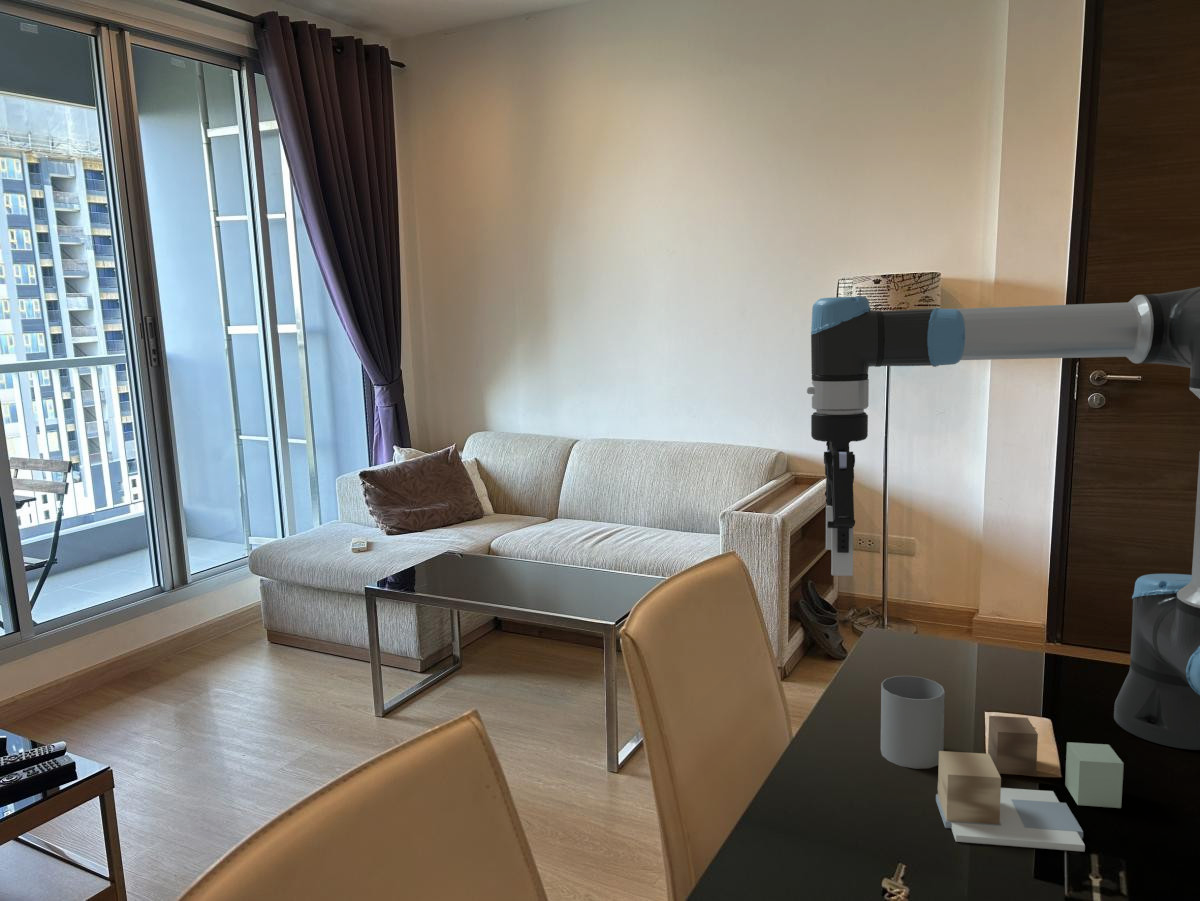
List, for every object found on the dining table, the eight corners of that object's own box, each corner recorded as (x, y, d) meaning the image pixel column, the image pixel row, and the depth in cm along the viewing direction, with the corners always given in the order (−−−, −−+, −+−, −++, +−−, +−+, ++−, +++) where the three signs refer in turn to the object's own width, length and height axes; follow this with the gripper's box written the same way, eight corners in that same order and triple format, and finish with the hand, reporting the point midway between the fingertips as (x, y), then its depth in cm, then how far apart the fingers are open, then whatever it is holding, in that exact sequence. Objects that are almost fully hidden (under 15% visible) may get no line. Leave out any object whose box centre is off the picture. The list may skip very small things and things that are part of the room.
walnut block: (1025, 758, 123) (1027, 717, 122) (1036, 776, 118) (1037, 733, 118) (987, 756, 124) (989, 715, 123) (996, 773, 119) (997, 731, 119)
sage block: (1106, 787, 115) (1108, 744, 114) (1121, 808, 110) (1123, 763, 109) (1065, 785, 116) (1067, 742, 115) (1077, 805, 111) (1079, 760, 110)
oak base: (987, 798, 112) (989, 753, 111) (999, 824, 106) (1001, 777, 105) (937, 795, 113) (938, 750, 112) (946, 820, 107) (947, 774, 106)
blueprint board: (1058, 797, 113) (1058, 791, 113) (1091, 852, 101) (1091, 845, 101) (932, 788, 116) (932, 782, 116) (949, 841, 104) (949, 834, 104)
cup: (947, 770, 120) (949, 701, 119) (884, 766, 122) (885, 698, 121) (936, 742, 129) (938, 677, 127) (878, 738, 130) (878, 674, 129)
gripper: (808, 403, 134) (807, 539, 136) (815, 421, 109) (814, 586, 112) (859, 402, 132) (858, 540, 135) (878, 420, 108) (876, 588, 111)
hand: (838, 561), depth 124 cm, fingers open, 13 cm apart
